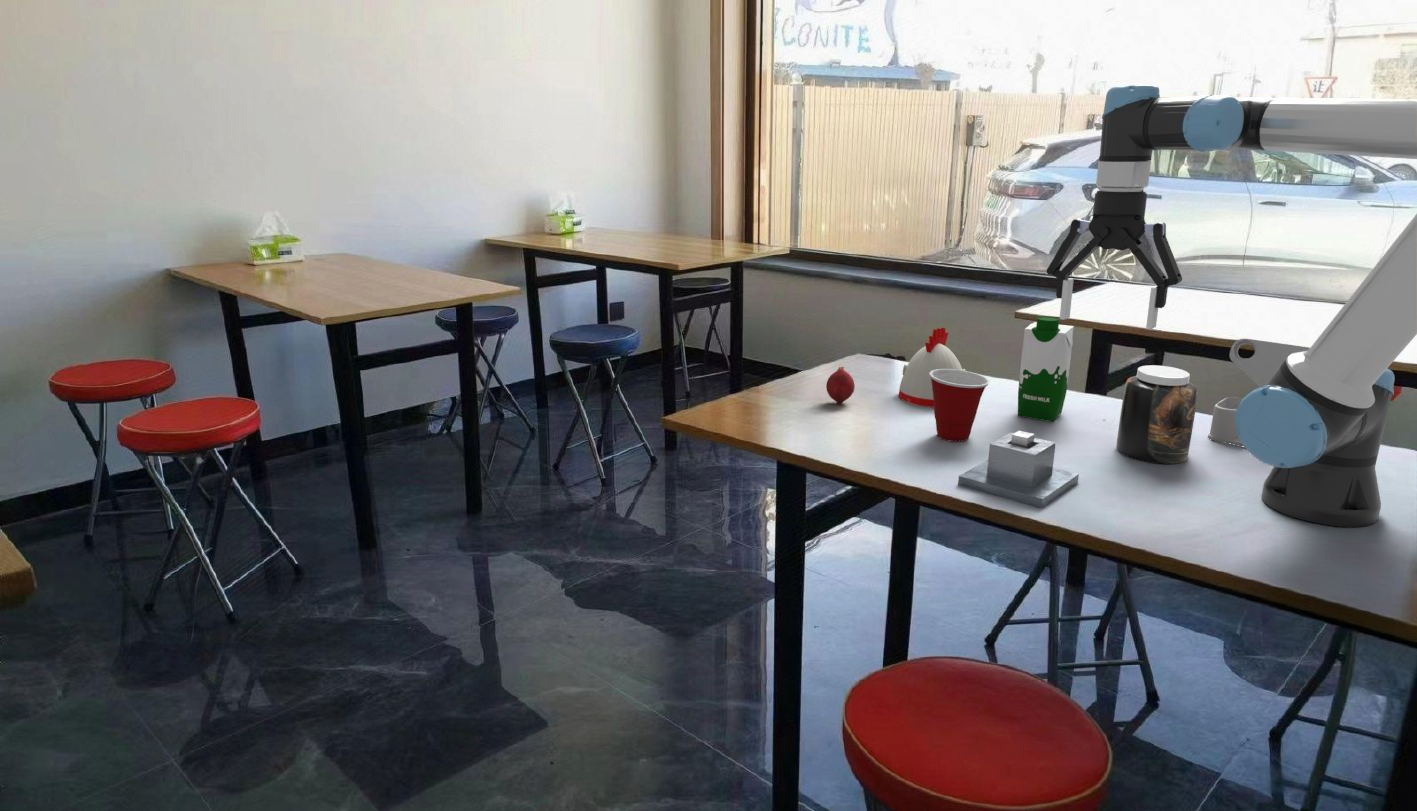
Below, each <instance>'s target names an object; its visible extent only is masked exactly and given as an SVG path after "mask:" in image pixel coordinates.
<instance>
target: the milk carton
mask: <svg viewBox="0 0 1417 811" xmlns="http://www.w3.org/2000/svg"><path fill="white" fill-rule="evenodd" d="M1074 328H1075V327H1074V325H1065V324H1060V318H1058V317H1054V316H1039V317H1037V318H1036V321H1034V322H1033V323H1030V324H1029V325H1028V326H1027V327H1025V328H1024V333H1023V343H1022V350H1021V360H1020V371H1019V381H1018V387H1017V388H1018V390H1017V417H1022V418H1028V419H1036V420H1038V421H1039V420H1041V421H1045V422H1046V421H1047V422H1053V423H1054V422H1055V421H1056V420H1057V418H1058V417H1059V416H1060V415H1061V414H1062V411H1063V408H1064V403H1065V400H1066V396H1067V391H1068V383H1069V382H1068V381H1069V377H1070V376H1069V375H1070V366H1071V357H1072V347H1073V335H1074Z"/></svg>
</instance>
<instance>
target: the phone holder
mask: <svg viewBox="0 0 1417 811" xmlns="http://www.w3.org/2000/svg"><path fill="white" fill-rule="evenodd" d="M1243 345H1250V346H1252V347H1253V349H1254V353H1253V355H1252V356H1251V357H1249V358H1244V357H1241V356H1240V355H1239V349H1240V347H1241V346H1243ZM1310 348H1311V347H1310V346H1309V347H1308V346H1303V345H1301V346H1300V345H1294V344H1289V343H1288V344H1287V343H1280V342H1273V341H1268V340H1266V341H1265V340H1258V339H1253V338H1239V339H1237V340H1236V341H1234V343H1233V344H1232V345H1231V346H1230V350H1229V359H1230V360H1231V361H1232V362H1233V363H1234V364H1235V366H1237V367H1238V369H1240V370H1241V371H1242V372H1243V373H1244V374H1245V375H1247V377H1248V378H1249V379H1251V380H1252V381H1253V383H1254V384H1256V385H1257V386H1258V387H1262V386H1265V385H1266V384H1267V383H1268V381H1269V380H1270V379H1271V377H1272V376H1273V375H1274V374H1275V372H1276V371H1277V370H1278V369H1279V367H1280V366H1281V365H1282V364H1283V362H1284V361H1285V360H1286V359H1287V357H1288V356H1289V355H1290V354H1292V353H1297V352H1304V351H1308V350H1309V349H1310ZM1243 399H1244V398H1242V397H1235V396H1230V397H1229V396H1228V397H1225V398H1223V399H1222V400H1220V401H1218V402H1217V403H1216V404H1215V405H1214V408H1213V413H1212V419H1211V423H1210V424H1211V425H1210V430H1209V431H1210V432H1209V433H1208V434H1207V439H1208V438H1209V439H1208V440H1210V439H1211V440H1210V441H1212V440H1214V442H1217V441H1219V442H1218V443H1222V442H1226V443H1231V444H1235V445H1234V446H1236V445H1239V446H1238V447H1240V446H1243V444H1242V443H1241V441H1240V439H1239V437H1238V432H1237V428H1236V427H1235V415H1236V411H1237V408H1238V406H1239V404H1240V402H1241V401H1242V400H1243ZM1226 443H1225V444H1226ZM1231 444H1230V445H1231Z"/></svg>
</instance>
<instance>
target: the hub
mask: <svg viewBox="0 0 1417 811" xmlns="http://www.w3.org/2000/svg"><path fill="white" fill-rule="evenodd" d="M1014 433H1015V432H1009V433H1007V434H1005V435H1003V436H1001V437H999V438H998V439H996V440H994V441H992V442H990V443H989V446H988V447H989V449H988V457H987V460H988V468H987V476H990V477H994V478H997V479H1001V480H1005V481H1009V482H1012V483H1016V484H1020V485H1023V486H1027V487H1031V488H1032V487H1034V486H1035V485H1037V484H1038V483H1040V482H1041V481H1043V480H1044V479H1046V478H1048V477H1049V476H1051V475H1052V470H1053V468H1054V459H1055V453H1056V452H1055V451H1056V442H1053V441H1049V440H1045V439H1043V438H1036V437H1034V445H1033V447H1032V448H1030V449H1027V448H1023V447H1019V446H1015V445H1011V440H1012V434H1014Z"/></svg>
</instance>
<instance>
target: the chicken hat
mask: <svg viewBox="0 0 1417 811" xmlns="http://www.w3.org/2000/svg"><path fill="white" fill-rule="evenodd" d="M948 335H949V332H947V331H946V328H945V327H940V328H938V327H937V328H936V329H932V335H929V336H928V342H925V344H924V346H923V347H921V348H920V349H919V350H917V351H916V353H915V354H914V355H913V356H912V357H911V359H910V360H909V362H908V363H907V364H904V365H903V368H902V377H901V381H900V384H899V388H898V389H899V390H898V397H899V398H900V400H902V401H904V402H906V403H909V404H911V403H912V405H915V404H916V405H915V406H920V407H921V406H922V407H927V406H929V408H934V400H933V390H932V381H931V377H930V376H929V373H930V372H931V371H932V370H936V369H955V370H963V371H967V369H966V368H962V365H961V363H960V361H959V360H958V358H957V357H956V355H955V354H954V352H953V351H951V349H950V348H948V347H947V346H946V342H947V340H948Z"/></svg>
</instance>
